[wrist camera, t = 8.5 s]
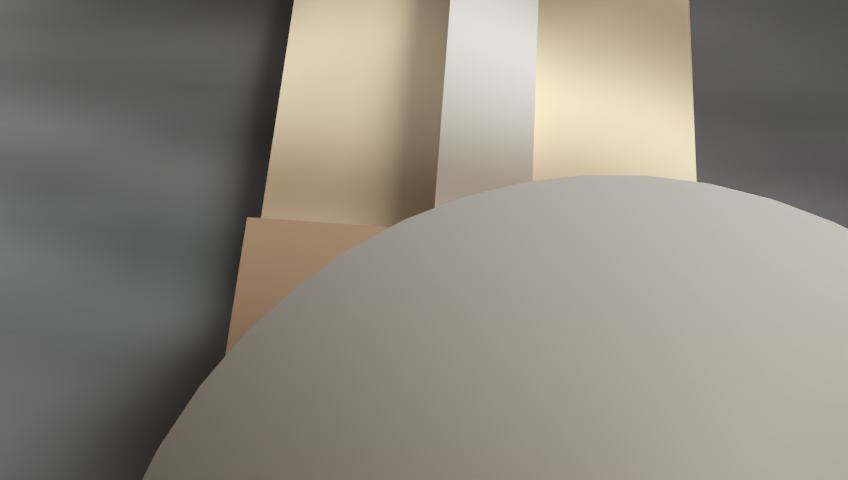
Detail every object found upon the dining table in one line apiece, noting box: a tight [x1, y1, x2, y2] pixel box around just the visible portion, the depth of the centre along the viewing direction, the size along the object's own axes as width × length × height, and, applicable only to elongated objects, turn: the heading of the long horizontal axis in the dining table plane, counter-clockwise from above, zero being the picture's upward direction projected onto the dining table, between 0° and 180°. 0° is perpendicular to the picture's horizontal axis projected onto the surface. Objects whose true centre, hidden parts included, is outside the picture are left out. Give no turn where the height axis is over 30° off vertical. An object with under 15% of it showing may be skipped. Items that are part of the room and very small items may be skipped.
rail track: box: [261, 0, 697, 227], centre depth 13 cm, size 32×12×8 cm, turn 176°
